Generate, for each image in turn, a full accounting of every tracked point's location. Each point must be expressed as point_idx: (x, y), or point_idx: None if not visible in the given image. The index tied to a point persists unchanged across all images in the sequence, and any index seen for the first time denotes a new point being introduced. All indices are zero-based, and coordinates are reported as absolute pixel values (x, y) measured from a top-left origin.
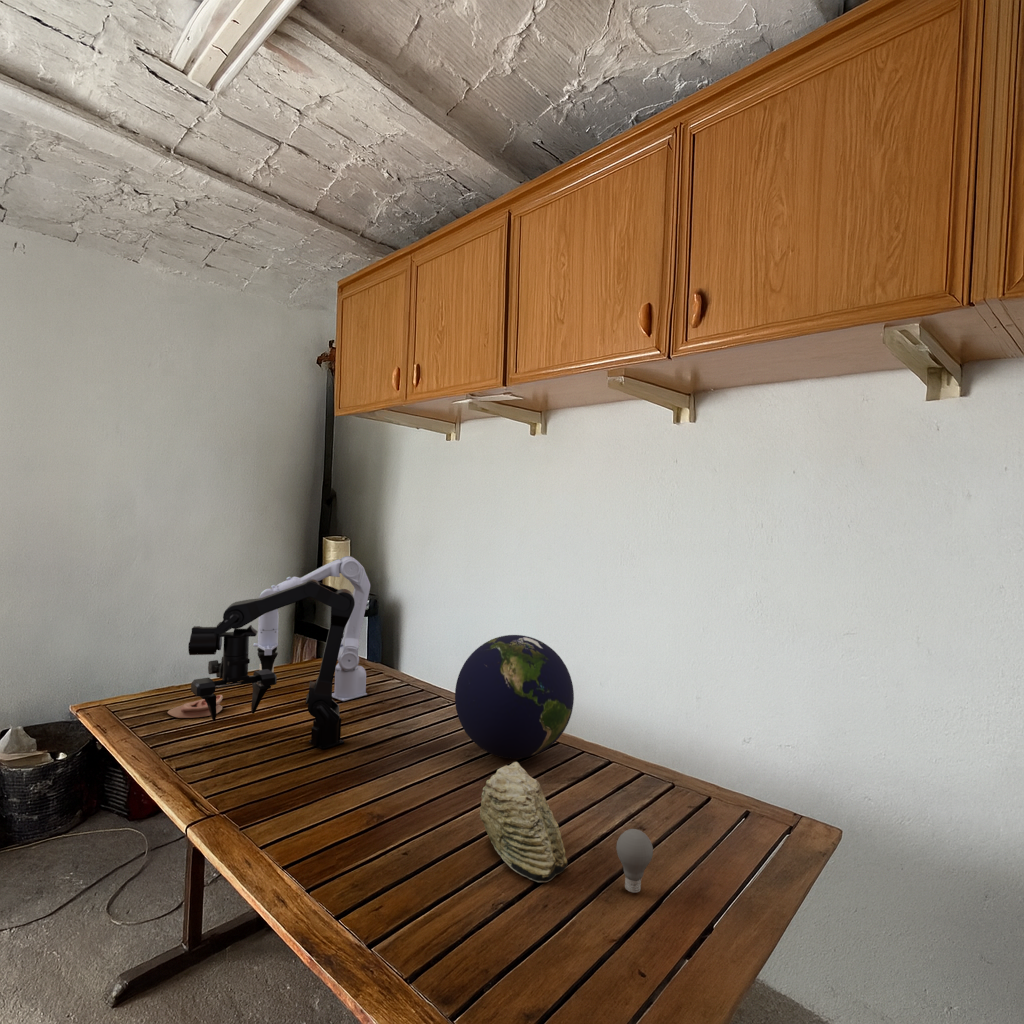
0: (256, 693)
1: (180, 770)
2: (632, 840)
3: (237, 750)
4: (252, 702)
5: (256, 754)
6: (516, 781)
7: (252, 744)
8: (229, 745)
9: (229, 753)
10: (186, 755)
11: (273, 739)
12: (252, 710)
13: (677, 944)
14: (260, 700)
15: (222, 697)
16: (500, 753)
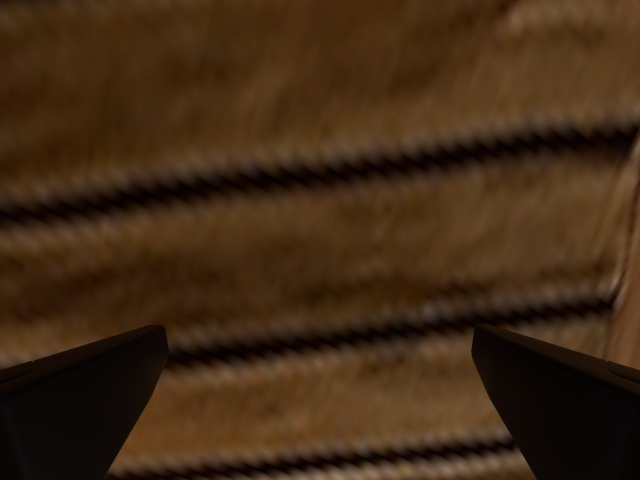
0: (6, 469)
1: (627, 114)
2: None
3: (305, 212)
4: (123, 419)
5: (235, 98)
6: None
7: (218, 247)
8: (318, 293)
9: (351, 196)
10: (520, 283)
11: (106, 253)
12: (155, 350)
13: None
14: (20, 365)
15: None
16: None
